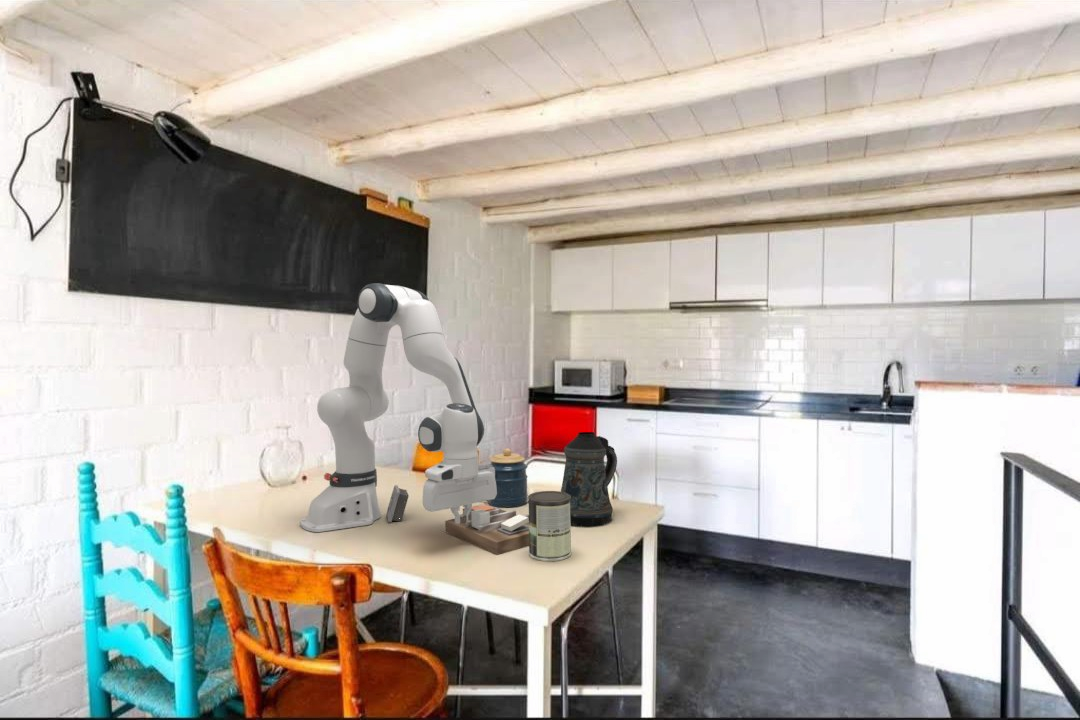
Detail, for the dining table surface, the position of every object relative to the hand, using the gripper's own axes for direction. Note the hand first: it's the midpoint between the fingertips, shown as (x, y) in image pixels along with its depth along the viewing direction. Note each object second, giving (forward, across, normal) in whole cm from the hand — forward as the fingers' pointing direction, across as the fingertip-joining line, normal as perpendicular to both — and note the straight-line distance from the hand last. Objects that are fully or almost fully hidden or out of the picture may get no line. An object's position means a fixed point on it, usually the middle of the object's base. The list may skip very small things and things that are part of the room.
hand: (461, 522), depth 147 cm
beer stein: (+6, -40, +4) cm, 41 cm away
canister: (+6, -33, -25) cm, 42 cm away
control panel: (+6, -11, 0) cm, 13 cm away
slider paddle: (+3, -6, 0) cm, 6 cm away
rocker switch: (+1, -11, +7) cm, 14 cm away
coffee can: (+6, -12, +20) cm, 24 cm away
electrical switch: (+6, +2, -33) cm, 34 cm away
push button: (+2, -11, -8) cm, 14 cm away
